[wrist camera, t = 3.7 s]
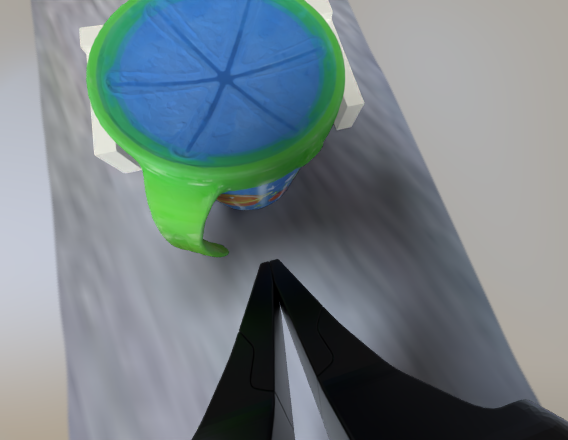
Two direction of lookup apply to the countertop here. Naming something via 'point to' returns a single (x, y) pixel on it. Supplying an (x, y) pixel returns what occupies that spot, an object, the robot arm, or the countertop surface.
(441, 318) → the countertop surface
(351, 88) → the centring cradle
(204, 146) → the snack cup
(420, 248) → the countertop surface
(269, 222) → the countertop surface
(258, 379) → the robot arm
